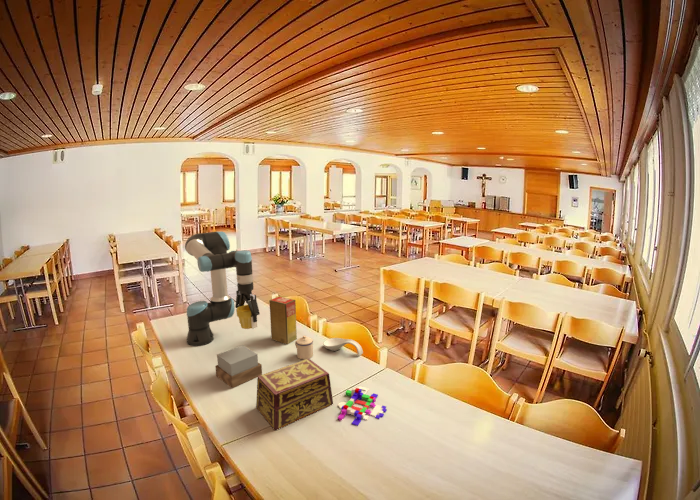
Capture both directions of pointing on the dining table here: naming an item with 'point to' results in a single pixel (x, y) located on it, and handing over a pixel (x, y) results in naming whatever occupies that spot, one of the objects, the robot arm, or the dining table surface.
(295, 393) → the decorative box
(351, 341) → the spoon rest
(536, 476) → the dining table surface
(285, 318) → the food packaging
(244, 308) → the plant pot
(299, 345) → the teacup with lid
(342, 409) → the building block set
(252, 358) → the grey top block
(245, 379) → the walnut base block
